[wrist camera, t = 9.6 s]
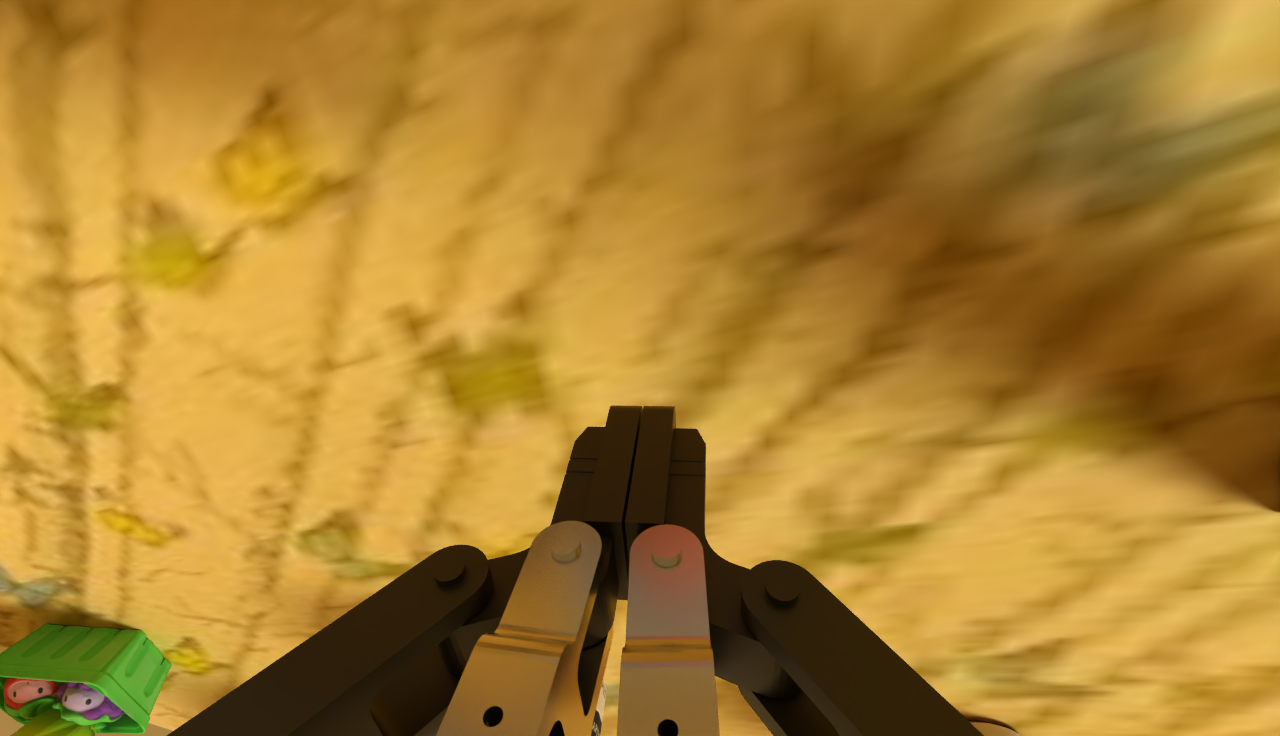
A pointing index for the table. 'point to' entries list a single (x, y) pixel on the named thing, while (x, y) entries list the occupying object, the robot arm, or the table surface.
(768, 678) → the robot arm
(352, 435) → the table surface
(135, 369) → the table surface
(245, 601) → the table surface
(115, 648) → the fruit basket
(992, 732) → the travel mug
